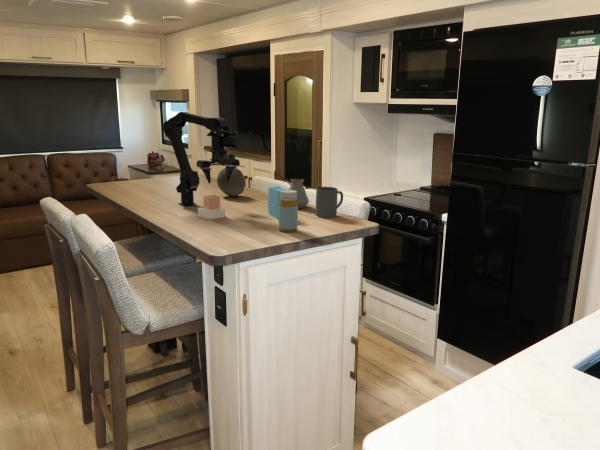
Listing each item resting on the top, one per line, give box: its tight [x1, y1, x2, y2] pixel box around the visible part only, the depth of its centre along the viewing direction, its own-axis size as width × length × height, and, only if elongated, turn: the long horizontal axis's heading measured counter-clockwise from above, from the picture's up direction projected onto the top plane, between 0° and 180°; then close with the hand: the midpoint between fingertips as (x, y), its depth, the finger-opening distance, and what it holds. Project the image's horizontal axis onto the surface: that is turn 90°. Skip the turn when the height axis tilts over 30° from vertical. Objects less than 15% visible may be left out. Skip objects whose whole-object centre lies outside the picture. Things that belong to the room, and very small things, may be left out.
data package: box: [267, 186, 287, 220], centre depth 200 cm, size 12×4×12 cm, turn 24°
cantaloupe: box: [216, 167, 246, 198], centre depth 241 cm, size 14×14×15 cm
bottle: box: [278, 189, 299, 233], centre depth 176 cm, size 7×7×15 cm
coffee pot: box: [273, 171, 310, 209], centre depth 223 cm, size 21×12×15 cm, turn 45°
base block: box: [197, 206, 226, 220], centre depth 198 cm, size 8×8×4 cm
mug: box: [315, 186, 344, 219], centre depth 204 cm, size 14×9×12 cm
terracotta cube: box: [203, 194, 221, 210], centre depth 196 cm, size 5×5×5 cm
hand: (218, 182), depth 210 cm, fingers open, 9 cm apart
